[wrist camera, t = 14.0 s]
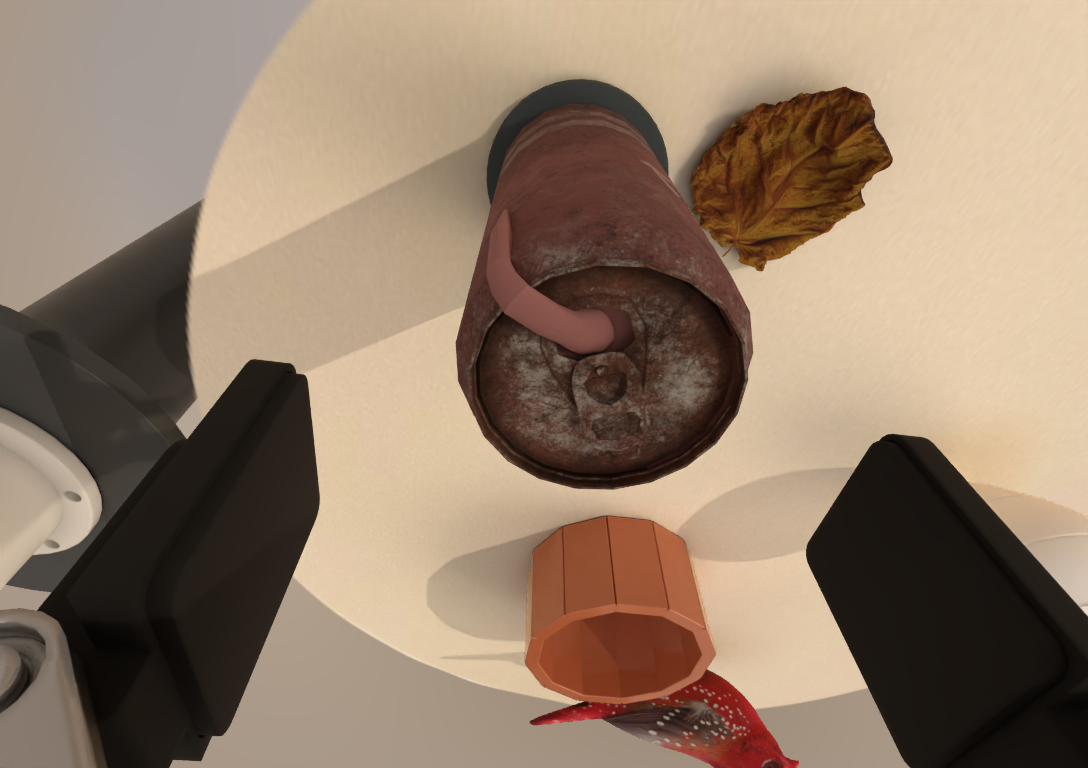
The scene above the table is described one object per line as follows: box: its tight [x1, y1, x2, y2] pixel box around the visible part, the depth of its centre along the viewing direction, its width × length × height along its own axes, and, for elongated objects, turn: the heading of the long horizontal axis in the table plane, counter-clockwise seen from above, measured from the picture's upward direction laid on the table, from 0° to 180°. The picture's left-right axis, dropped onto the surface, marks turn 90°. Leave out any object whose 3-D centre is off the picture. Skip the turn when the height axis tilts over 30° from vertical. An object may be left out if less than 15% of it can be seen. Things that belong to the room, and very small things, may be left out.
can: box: [456, 104, 753, 490], centre depth 16 cm, size 6×6×14 cm
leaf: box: [691, 87, 893, 271], centre depth 22 cm, size 6×7×2 cm
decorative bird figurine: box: [530, 669, 799, 768], centre depth 38 cm, size 3×18×10 cm, turn 85°
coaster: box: [487, 79, 668, 206], centre depth 22 cm, size 7×7×1 cm
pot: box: [525, 516, 716, 704], centre depth 35 cm, size 11×11×6 cm
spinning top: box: [968, 482, 1088, 616], centre depth 27 cm, size 8×8×12 cm
